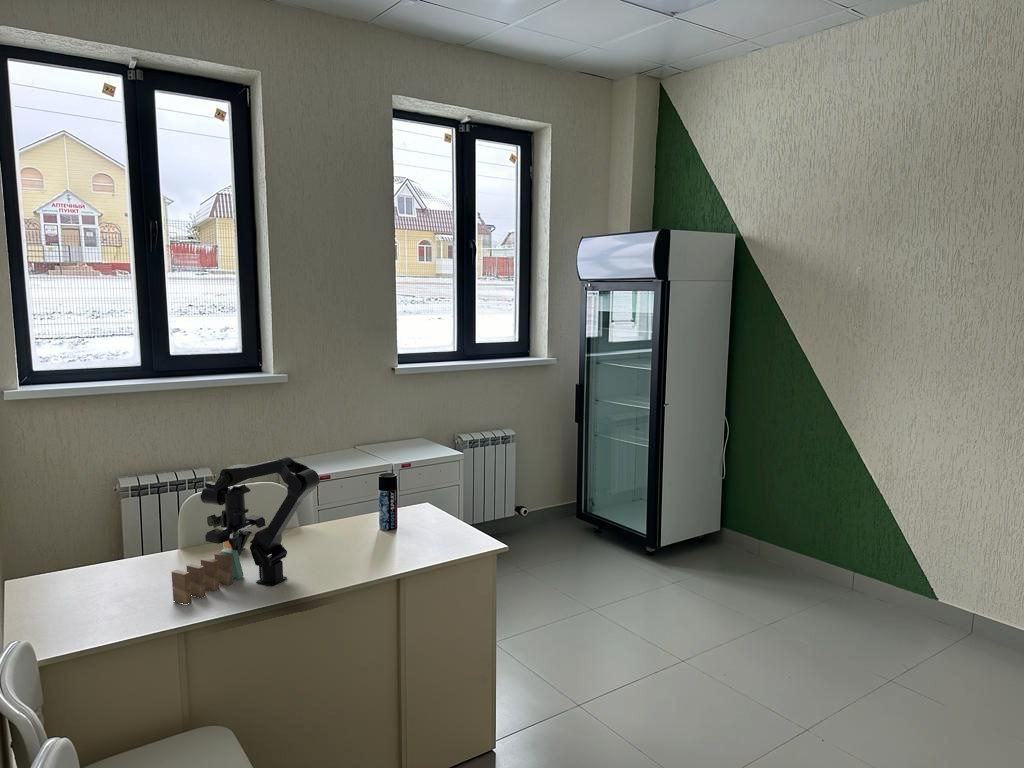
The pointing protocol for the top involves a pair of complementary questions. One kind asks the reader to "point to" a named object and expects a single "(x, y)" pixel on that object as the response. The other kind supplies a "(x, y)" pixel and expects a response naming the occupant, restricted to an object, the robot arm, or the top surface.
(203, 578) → the tile
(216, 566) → the tile
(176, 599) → the brown wooden block
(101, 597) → the top surface
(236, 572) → the tile
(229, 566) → the wooden block
